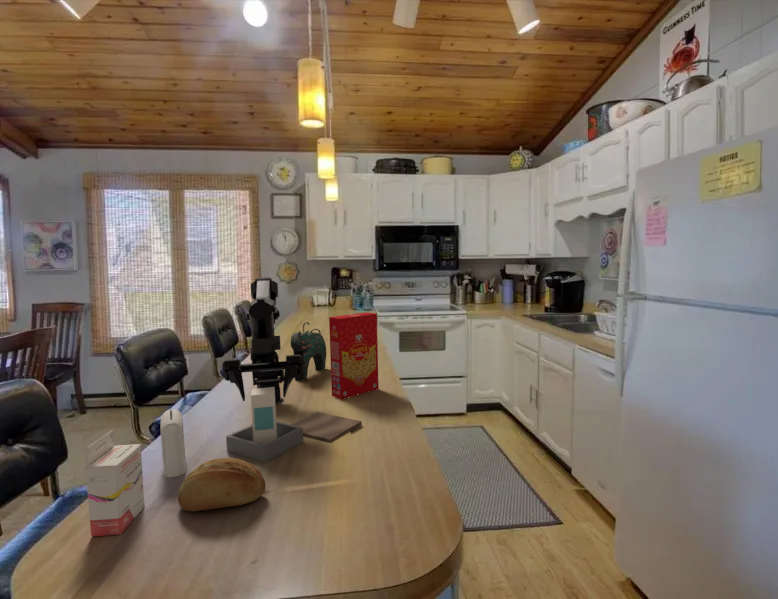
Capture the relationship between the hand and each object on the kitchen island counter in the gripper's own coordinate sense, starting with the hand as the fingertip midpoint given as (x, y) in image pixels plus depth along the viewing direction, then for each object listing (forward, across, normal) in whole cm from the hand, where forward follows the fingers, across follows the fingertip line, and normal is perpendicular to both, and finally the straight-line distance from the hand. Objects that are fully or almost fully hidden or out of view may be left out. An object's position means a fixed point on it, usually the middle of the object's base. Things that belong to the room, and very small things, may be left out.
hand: (264, 398), depth 105 cm
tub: (+10, 0, +5) cm, 11 cm away
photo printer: (+14, -18, +2) cm, 23 cm away
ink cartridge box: (+26, -23, -10) cm, 36 cm away
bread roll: (+26, -7, -10) cm, 28 cm away
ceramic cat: (-34, +14, +49) cm, 61 cm away
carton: (+10, 0, +5) cm, 11 cm away
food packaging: (-15, +27, +30) cm, 43 cm away
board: (+4, +14, +11) cm, 18 cm away
